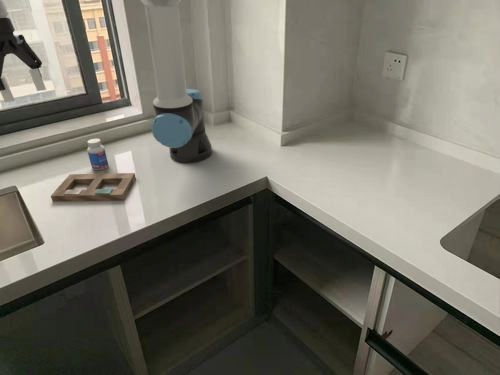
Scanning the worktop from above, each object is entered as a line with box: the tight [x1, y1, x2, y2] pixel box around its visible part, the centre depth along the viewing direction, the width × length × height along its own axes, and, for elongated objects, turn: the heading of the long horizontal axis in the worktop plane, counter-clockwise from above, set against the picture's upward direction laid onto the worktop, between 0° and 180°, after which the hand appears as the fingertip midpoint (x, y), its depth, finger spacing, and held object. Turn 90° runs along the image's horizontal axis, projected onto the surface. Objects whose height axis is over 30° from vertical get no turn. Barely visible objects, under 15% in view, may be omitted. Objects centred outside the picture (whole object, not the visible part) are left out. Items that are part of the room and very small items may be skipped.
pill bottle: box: [86, 138, 109, 171], centre depth 123 cm, size 6×5×10 cm
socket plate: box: [50, 172, 137, 203], centre depth 112 cm, size 21×13×2 cm, turn 90°
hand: (26, 95), depth 110 cm, fingers open, 13 cm apart
